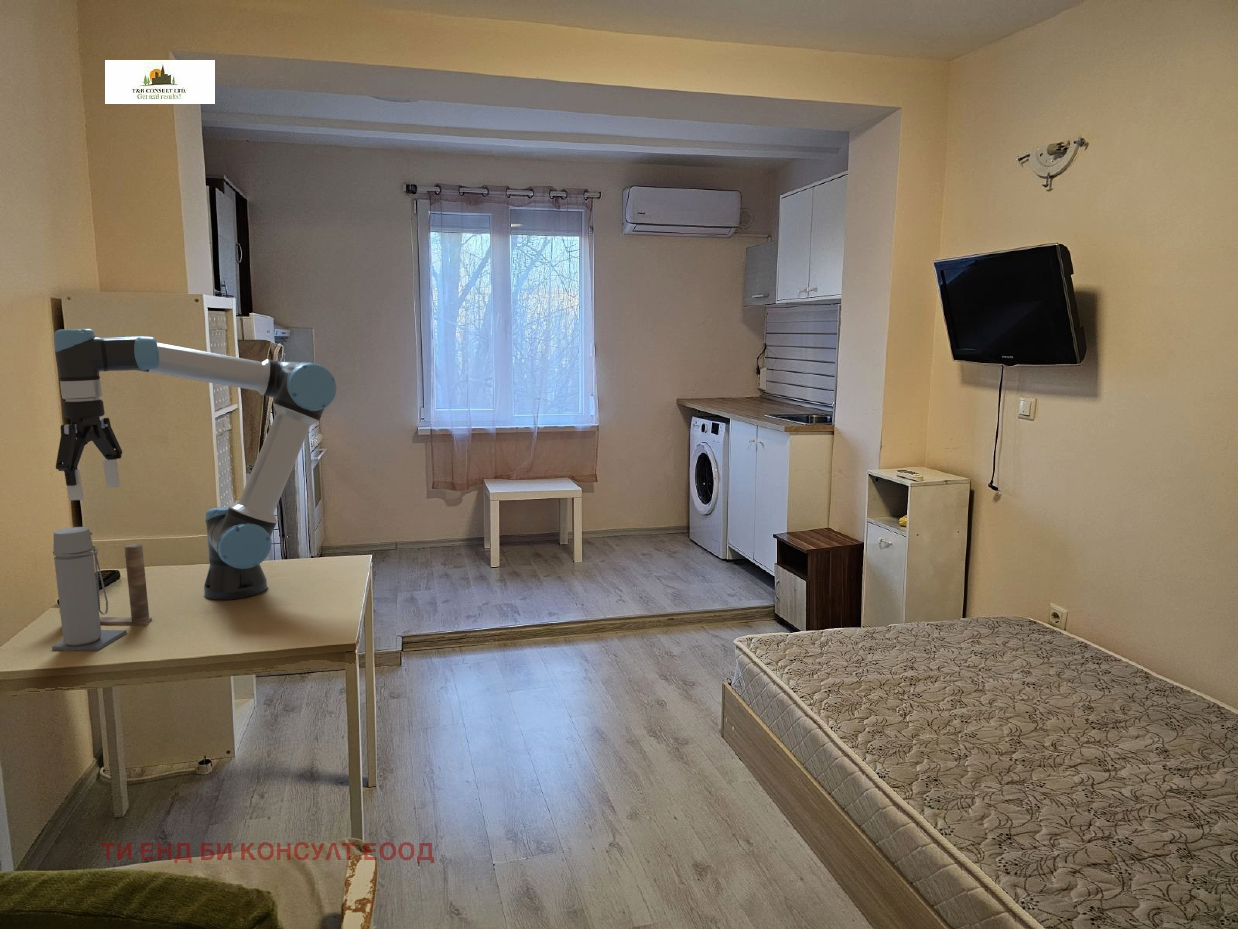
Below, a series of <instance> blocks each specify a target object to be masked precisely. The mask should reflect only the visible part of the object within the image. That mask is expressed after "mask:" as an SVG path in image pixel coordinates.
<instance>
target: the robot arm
mask: <svg viewBox="0 0 1238 929" xmlns="http://www.w3.org/2000/svg"><path fill="white" fill-rule="evenodd" d="M156 339H157V338H155V337H153V336H143V335H141V336H140V335H139V336H126V335H125V336H124V335H121V336H115V337H99V336H98V337H96V334H95V332H94V330H93V329H91V328H78V329H77V328H76V329H75V328H73V329H72V328H70V329H65V328H64V329H58V330H56V331H55V332H54V333H53V341H54V342H53V343H54V354H55V359H56V365H57V366H56V367H57V372H58V377H59V385H60V386H59V388H60V391H61V398H62V399H63V400H64V401H63V402H62V407H63V409H62V410H63V415H64V417H65V418H66V419H69V420H70V424H61V425H60V439H59V444H58V452H57V456H56V457H57V458H56V462H55V469H56V470H58V472H63V473H64V477H65V484H66V489H67V495H68V496H67V497H68V501H83V500H85V498H84V490H83V485H82V477H81V470H80V469H78V466H79V463H80V460H81V458H82V454H83V452H84V449H85V446H86V445H88V444H89V443H90V442H92V443H93V444H94V445H95V447H96V448H97V450H99V452H100V453H101V454H102V457H104V458H105V459H103V460H102V465H103V472H104V479H105V481H104V482H105V488H106V489H107V488H120V487H121V484H120V477H119V476H120V475H119V468H118V461H117V460H119V459H122V455H123V450H122V447H121V446H120V443H119V441H118V439H117V437H116V435H115V432H114V430H113V428H112V426H111V421H110V420H111V419H110V418H109V417H103V416H105V406H104V400H102V399H101V398H102V397H103V389H102V383H101V376H100V372H117V371H118V372H122V371H125V372H126V371H127V372H128V371H139V372H146V373H150V374H151V373H152V374H157V375H161V376H162V375H164V376H170V377H176V378H180V379H187V380H191V381H192V380H193V381H198V382H205V383H209V384H210V383H211V384H216V385H222V386H228V387H233V388H238V389H246V390H252V391H257V392H258V394H260V396H262V397H263V396H265V397H270V398H274V400H273V407H274V408H273V409H274V410H275V412H276V413H275V416H274V418H273V420H272V422H271V425H270V428H269V429H268V432H267V434H266V437H265V440H264V441H263V445H262V446H261V448H260V451H259V453H258V455H257V457H256V460H255V463H254V465H253V467H252V470H251V471H250V474H249V477H248V479H247V482H246V483H245V486H244V488H243V490H242V493H241V496H240V497H239V500H238V501H237V502H235V503H233V504H231V505H228V506H220V507H214V508H210V509H208V510H207V511H206V512H205V520H204V522H205V523H206V536H207V548H208V549H207V550H208V559H209V562H208V563H209V567H208V571H207V575H206V578H205V582H204V586H203V592H204V597H205V598H207V599H210V600H211V599H212V600H221V601H223V600H224V601H225V600H227V601H228V600H237V599H243V598H249V597H252V596H255V595H259V594H261V593H263V592H265V591H266V590H267V588H268V582H267V581H268V580H267V578H266V575H265V573H264V571H263V568H262V566H261V563H263V562H264V561H265V560H266V559H267V558H268V556H269V554H270V553H271V549H272V538H271V537H272V535H273V532H274V530H275V528H276V525H277V523H278V520H277V518H276V516H275V511H276V508H277V506H278V504H279V502H280V498H281V496H282V495H283V492H284V489H285V487H286V485H287V482H288V481H289V478H290V477H291V476H290V475H291V473H292V470H293V468H294V466H295V464H296V462H297V458H298V456H299V454H300V451H301V449H302V447H303V444H304V442H305V440H306V437H307V435H308V433H309V430H310V427H312V426H313V425H315V424H317V423H319V422H320V420H321V419H322V416H323V412H324V411H325V409H326V408H327V407H329V406H330V405H331V404H332V403H333V401H334V399H335V397H336V394H337V382H336V380H335V378H334V374H332V373H331V371H330V370H329V369H328V368H326V367H325V366H322V365H321V364H319V363H315V362H313V361H301V360H300V361H282V360H276V359H275V360H273V359H268V358H266V359H265V360H263V361H258V360H252V359H248V358H242V357H236V356H230V355H227V354H221V353H215V352H209V351H204V350H199V349H198V350H197V349H195V348H194V349H193V348H188V347H183V346H178V345H177V346H176V345H172V344H166V343H160V342H158V341H157V340H156Z"/></svg>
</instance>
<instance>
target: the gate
mask: <svg viewBox="0 0 1238 929" xmlns="http://www.w3.org/2000/svg"><path fill="white" fill-rule="evenodd" d="M143 547H144V545H143V544H140V543H133V544H129V545H126V546H124V557H125V566H126V567H125V568H126V575H127V576H126V577H127V586H128V587H127V588H128V597H129V607H130V616H131V617H130V616H129V617H126V616H125V617H121V616H115V617H114V616H113V617H109V616H100V626H146V625H147V624H149V623H150V622H152V621H153V617H150V610H149V602H148V590H147V579H146V569H145V560H144V548H143Z"/></svg>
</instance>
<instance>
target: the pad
mask: <svg viewBox="0 0 1238 929" xmlns="http://www.w3.org/2000/svg"><path fill="white" fill-rule="evenodd" d="M125 635H127V630H126V629H101V637H100V638H99V639H98V640H96V641H95V642H92V643H89V644H85V645H78V646H72V645H67V644H65V643H64V641H63V640H61V641H60V642H57V643H56V644H54V645H53V646H51V650H52V651H89V652H90V651H91V652H92V651H94V652H95V651H97V652H98V651H100V650H102V649H103V648H105V647H106V646H108V645H110V644H111V643H113V642H115V641H117V640H118V639H120V638H122V637H123V636H125Z"/></svg>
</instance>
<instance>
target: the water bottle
mask: <svg viewBox="0 0 1238 929" xmlns="http://www.w3.org/2000/svg"><path fill="white" fill-rule="evenodd" d="M92 540H93V539H92V535H91V531H90V528H89V527H87V526H86V527H85V526H75V527H67V528H65V527H64V528H62V529H61V528H60V529H57V530H55V531H53V551H52V555H53V558H54V559H53V560H54V569H55V570H54V571H55V578H56V587H57V594H58V595H57V597H58V604H59V613H60V622H61V630H62V641H64V643H65V644H67V645H72V646H78V645H85V644H89V643H92V642H95V641H96V640H98V639H99V638H100V637H101V630H102V625H100V617H101V616H100V614H101V615H107V614H108V611H109V601H108V596H107V592H106V588H105V585H104V580H103V576H102V573H101V572H102V571H101V568H100V564H99V560H98V551H99V548H94V544H93V541H92ZM92 551H93V552H92ZM99 577H100V582H101V587H102V590H103V594H104V595H103V596H104V599H105V611H104V612H103V611H102V610H101V600H100V598H101V597H100V587H99Z"/></svg>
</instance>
